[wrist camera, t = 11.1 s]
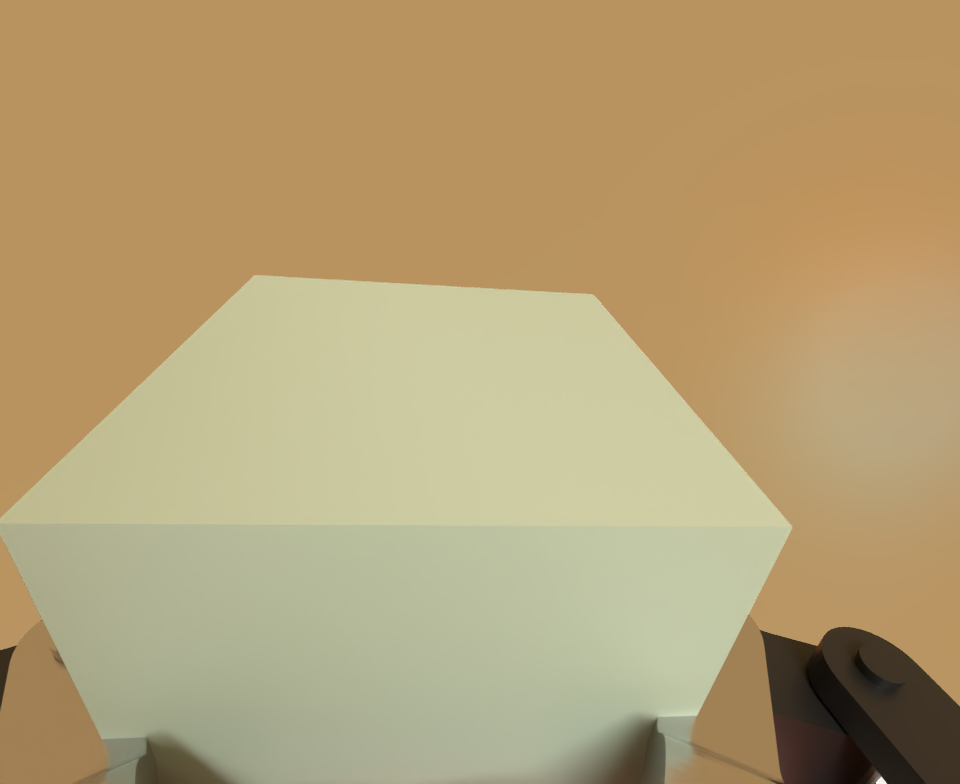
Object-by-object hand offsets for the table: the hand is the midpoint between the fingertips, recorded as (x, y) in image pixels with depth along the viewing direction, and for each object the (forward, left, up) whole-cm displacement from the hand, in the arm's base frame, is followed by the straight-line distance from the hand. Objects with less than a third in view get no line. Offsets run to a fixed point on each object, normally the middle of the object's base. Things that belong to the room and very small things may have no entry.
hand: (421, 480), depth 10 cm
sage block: (-1, -2, -6) cm, 7 cm away
